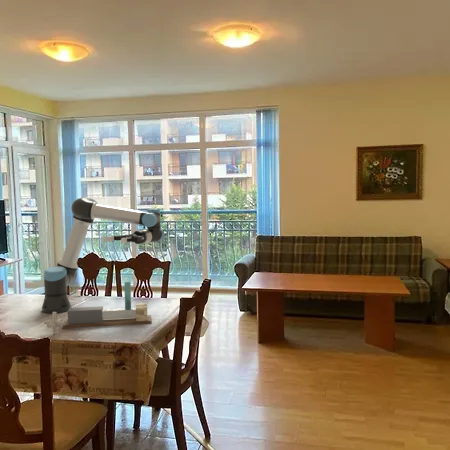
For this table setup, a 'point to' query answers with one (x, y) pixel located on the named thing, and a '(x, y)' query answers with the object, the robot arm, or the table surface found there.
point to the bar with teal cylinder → (121, 312)
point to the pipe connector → (54, 322)
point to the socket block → (141, 311)
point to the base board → (110, 322)
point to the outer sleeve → (85, 315)
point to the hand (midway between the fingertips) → (112, 240)
